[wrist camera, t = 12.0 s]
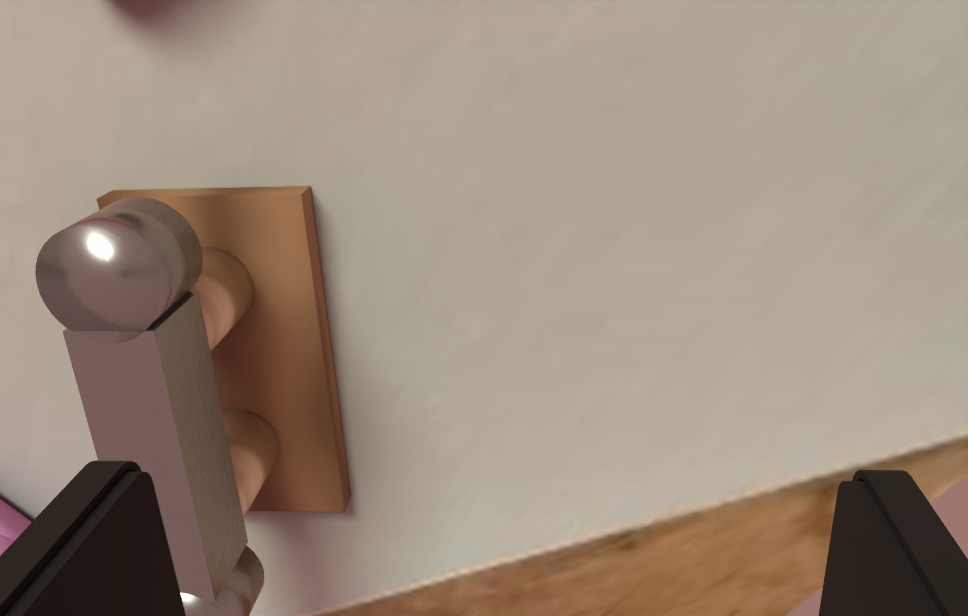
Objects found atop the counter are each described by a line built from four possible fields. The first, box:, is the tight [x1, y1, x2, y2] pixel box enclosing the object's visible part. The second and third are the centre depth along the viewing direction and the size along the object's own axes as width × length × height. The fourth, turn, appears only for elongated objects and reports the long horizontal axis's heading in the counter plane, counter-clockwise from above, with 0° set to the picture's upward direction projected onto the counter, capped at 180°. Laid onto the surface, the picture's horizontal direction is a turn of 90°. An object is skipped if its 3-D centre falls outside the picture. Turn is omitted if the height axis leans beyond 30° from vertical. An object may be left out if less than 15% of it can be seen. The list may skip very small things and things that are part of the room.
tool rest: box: [97, 186, 351, 518], centre depth 40 cm, size 10×18×7 cm, turn 3°
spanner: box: [36, 196, 264, 616], centre depth 35 cm, size 5×21×4 cm, turn 3°
